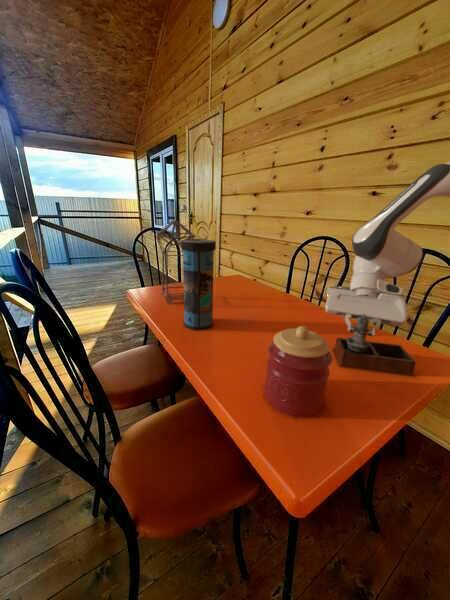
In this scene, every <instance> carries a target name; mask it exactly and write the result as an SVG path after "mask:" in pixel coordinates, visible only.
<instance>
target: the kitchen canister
mask: <svg viewBox="0 0 450 600" xmlns="http://www.w3.org/2000/svg"><path fill="white" fill-rule="evenodd" d="M267 349H268V353H269V356H268V358H267V361H266V367H267V369H266V377H265V378H266V379H265V381H264V393H265V399H266V400H267V402H268V403H269V404H270V406H272V407H273V408H274V409H276V410H277V411H279V412H281V413H283V414H285V415H288V416H291V417H296V418H306V417H312V416H314V415H316V414H317V413H319V412H320V411H321V410H322V407H323V406H324V403H325V399H326V391H327V390H326V389H327V384H328V379H329V377H330V368H329V367H330V366H331V365H332V363H333V356H332V354H331V352H330V351H331V350H330V349H331V346H330V344H329V342H328V341H327V340H326V339H325V338H323V337H322V335H320V334H318V333H316V332H315V331H312V330H309V329H308V327H307V326H306V325H305V326H304V325H300V326H298V327H291V328H286V329H284V330H281V331H279V332H277V333H275V335H274V336H273V339H272V341H271V343H269V345H268V348H267Z"/></svg>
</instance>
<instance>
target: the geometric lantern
mask: <svg viewBox="0 0 450 600" xmlns="http://www.w3.org/2000/svg"><path fill="white" fill-rule="evenodd" d="M171 226H172V229H171V233H168V232H166V231H168V230H169V228H170V227H171ZM179 228H181V229H182V231H184V232H180V229H179ZM175 231H176V233H175ZM155 234H156V240H157V243H158V246H159V249H160V252H161V255H162V256H161V257H162V259H161V260H162V261H161V263H162V265H161V266H162V271H161V285H162V286H161V296H162V297H164V298H165V299H166V300H168V304H171V305H175V304H177V302H173V301H182V300H183V301H184V292H177V293H170V291H169V289H184V286H169V274H168V273H169V268H168V267H169V264H168V263H169V261H168V259H169V257H183V254H168V253H183V250H171V248H172V246H179V247H180V248H181V240H183V239H195V238H196V237H197V236H196V234H194V233H193V232H192V231H190V230H189V229H188V228H187V227H185V225H183V224H182V223H180V222H179V221H178V220H171V221H170V222H169V223H167V224H166V225H165V226H164V227H162V228H161V229H159V230H158V231H157V232H155ZM181 235H183V236H181ZM166 238H167V239H168V240H167V239H166ZM160 240H163V241H164V242H166V243H167V244H168V246H167V248H166V250H165V248H164V246H163V243H162V242H161V241H160ZM169 240H170V241H169ZM173 242H177V243H173ZM165 285H166V287H165ZM164 293H165V294H166V295H165V294H164ZM179 297H183V298H179Z"/></svg>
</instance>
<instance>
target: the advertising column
mask: <svg viewBox="0 0 450 600" xmlns="http://www.w3.org/2000/svg"><path fill="white" fill-rule="evenodd" d="M180 242H181V244H180V245H181V247H180V249H181V251H183V252H182V255H183V256H182V268H183V270H182V271H183V273H182V274H183V287H184V288H183V293H184V297H183V312H184V313H183V314H184V326H185V327H186V328H187V329H189V330H192V331H204V330H207V329H210V328H211V327H213V320H214V319H213V317H214V315H213V314H214V310H213V309H214V264H215V263H214V259H215V258H214V255H215V252H214V251H216V250H217V249H216V248H217V247H216V245H217V242H216V240H213V239H206V238H205V239H204V238H194V239H187V238H184V239H181V240H180Z"/></svg>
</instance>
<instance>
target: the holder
mask: <svg viewBox="0 0 450 600" xmlns="http://www.w3.org/2000/svg"><path fill="white" fill-rule="evenodd" d="M367 341H368V342H369V343H370V346H369V347H368V349H367V350H366V351H364V353H365V354H358V353H350V352H346V351H345V350H346V349H348V348H349V347H348V344H347V338H344V337H336V338H335V344H334V349H333V350H334V352H335V355H336V357H337V360H338V363H339V366H340V367H344V368H353V369H359V370H366V371H373V372H380V373H388V374H396V375H402V376H403V375H404V376H409V377H412V376H413V373H414V370H415V366H416V363H417V361H416V360H415V359H414V358H413V357H412V356H411V355H410V354H409V352H408V351H407V350H406V349H405V348H404V347H403V345H401V344H395V343H394V344H393V343H387V342H386V343H385V342H377V341H369V340H367Z"/></svg>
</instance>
